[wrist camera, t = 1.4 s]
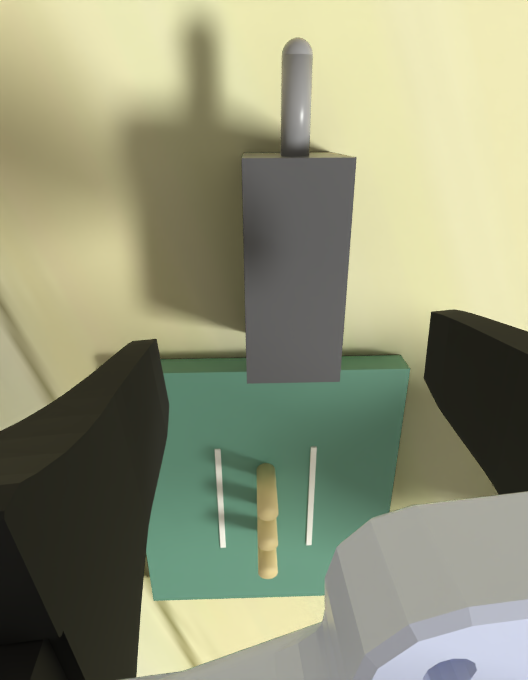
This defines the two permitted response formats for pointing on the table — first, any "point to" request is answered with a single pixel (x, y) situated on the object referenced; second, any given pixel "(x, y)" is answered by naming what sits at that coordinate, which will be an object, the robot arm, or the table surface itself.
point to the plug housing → (296, 243)
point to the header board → (269, 475)
